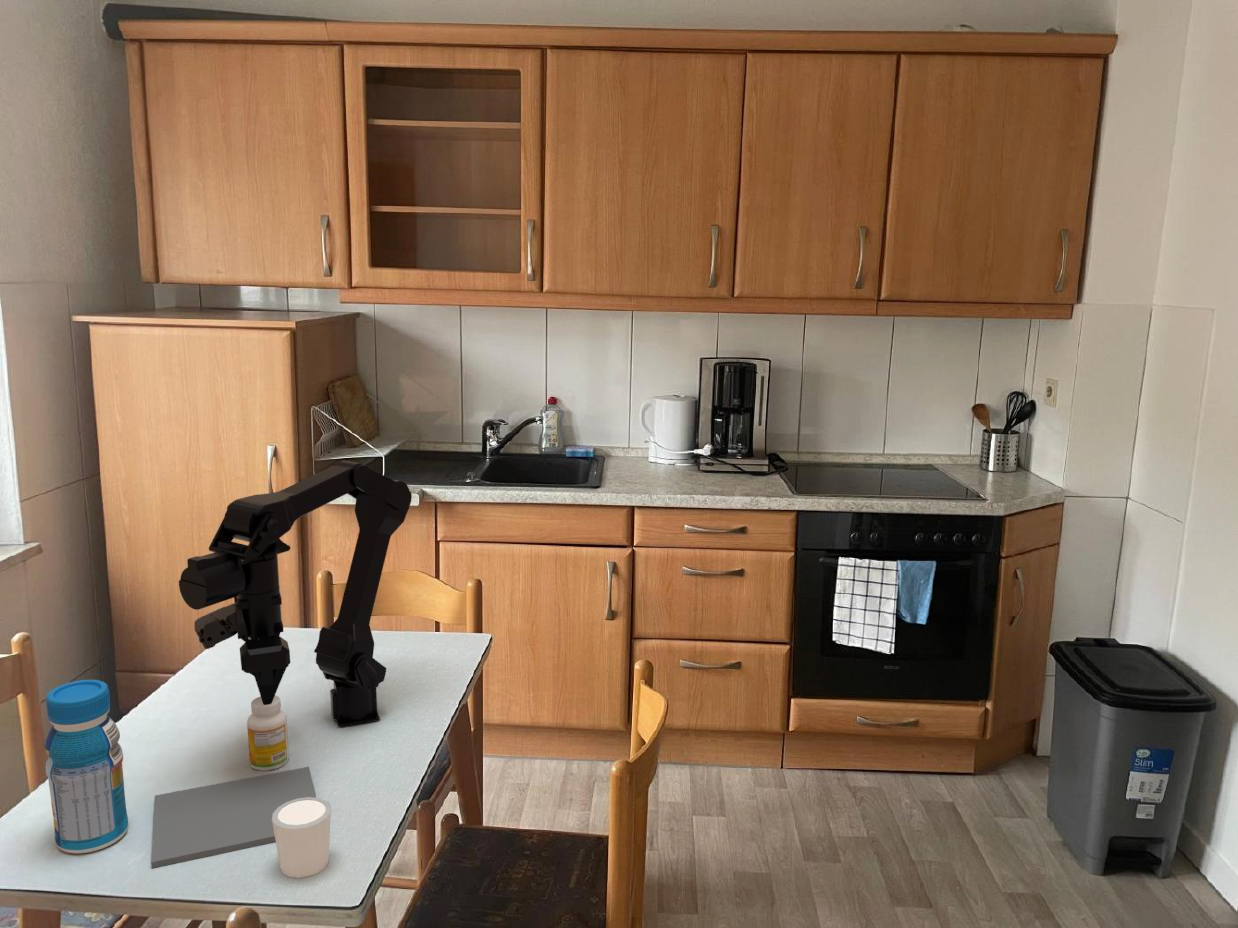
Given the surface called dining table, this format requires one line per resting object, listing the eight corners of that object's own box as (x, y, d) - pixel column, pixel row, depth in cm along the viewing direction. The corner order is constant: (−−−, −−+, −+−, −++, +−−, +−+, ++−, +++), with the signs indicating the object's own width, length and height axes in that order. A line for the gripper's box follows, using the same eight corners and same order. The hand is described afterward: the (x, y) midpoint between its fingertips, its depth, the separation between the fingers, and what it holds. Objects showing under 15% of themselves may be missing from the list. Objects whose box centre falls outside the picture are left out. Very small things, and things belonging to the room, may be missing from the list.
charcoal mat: (309, 771, 138) (308, 766, 138) (323, 831, 123) (323, 825, 123) (155, 800, 130) (154, 795, 130) (151, 868, 115) (151, 862, 115)
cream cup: (279, 887, 112) (276, 833, 111) (271, 855, 118) (267, 804, 117) (339, 871, 115) (336, 818, 114) (328, 841, 121) (325, 790, 120)
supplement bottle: (255, 753, 143) (251, 692, 141) (293, 752, 143) (289, 692, 141) (245, 772, 137) (240, 709, 135) (283, 771, 138) (279, 708, 136)
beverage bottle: (78, 864, 116) (61, 711, 112) (40, 841, 120) (23, 694, 116) (144, 830, 123) (130, 686, 119) (106, 810, 127) (92, 670, 123)
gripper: (195, 574, 140) (203, 674, 143) (196, 618, 123) (205, 729, 126) (275, 566, 144) (281, 662, 148) (287, 606, 128) (293, 714, 131)
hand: (265, 690), depth 138 cm, fingers open, 9 cm apart
